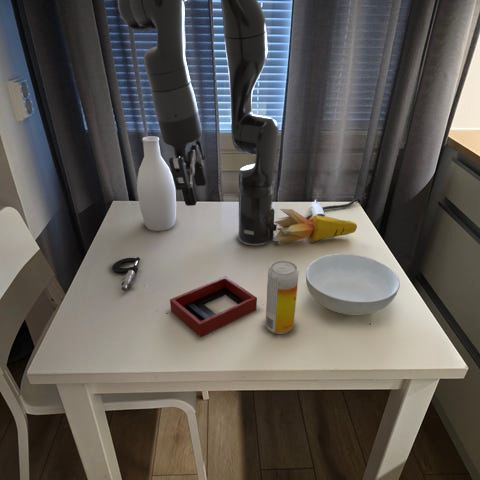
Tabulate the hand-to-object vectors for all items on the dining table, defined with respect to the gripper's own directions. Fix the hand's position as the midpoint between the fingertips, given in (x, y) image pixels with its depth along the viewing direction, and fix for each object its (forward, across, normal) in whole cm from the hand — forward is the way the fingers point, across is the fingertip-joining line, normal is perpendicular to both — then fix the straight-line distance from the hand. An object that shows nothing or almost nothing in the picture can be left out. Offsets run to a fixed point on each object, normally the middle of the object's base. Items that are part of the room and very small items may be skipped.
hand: (196, 194), depth 92 cm
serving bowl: (+30, +1, -30) cm, 43 cm away
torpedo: (+33, +44, -21) cm, 59 cm away
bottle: (+25, +32, +25) cm, 48 cm away
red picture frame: (+24, -8, -1) cm, 26 cm away
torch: (+32, +30, -21) cm, 48 cm away
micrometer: (+22, +2, +25) cm, 34 cm away
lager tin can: (+26, -12, -16) cm, 33 cm away
